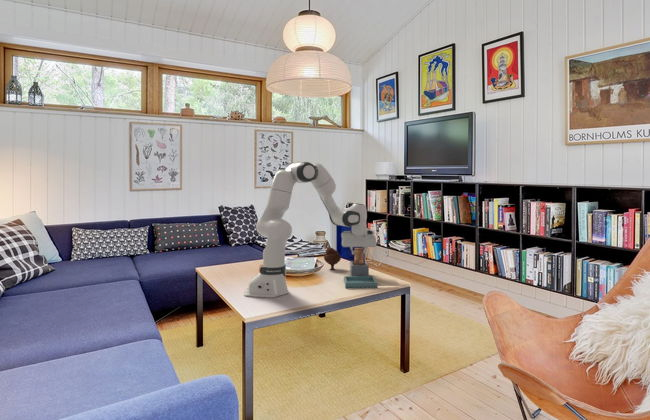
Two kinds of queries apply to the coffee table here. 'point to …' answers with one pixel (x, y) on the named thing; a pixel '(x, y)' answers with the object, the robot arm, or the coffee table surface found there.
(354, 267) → the grey open square box
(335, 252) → the ice cream bowl
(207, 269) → the coffee table surface
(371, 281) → the tray
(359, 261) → the peg
